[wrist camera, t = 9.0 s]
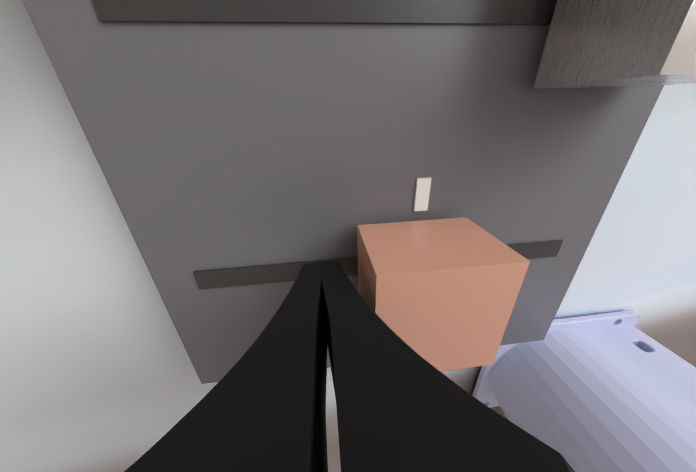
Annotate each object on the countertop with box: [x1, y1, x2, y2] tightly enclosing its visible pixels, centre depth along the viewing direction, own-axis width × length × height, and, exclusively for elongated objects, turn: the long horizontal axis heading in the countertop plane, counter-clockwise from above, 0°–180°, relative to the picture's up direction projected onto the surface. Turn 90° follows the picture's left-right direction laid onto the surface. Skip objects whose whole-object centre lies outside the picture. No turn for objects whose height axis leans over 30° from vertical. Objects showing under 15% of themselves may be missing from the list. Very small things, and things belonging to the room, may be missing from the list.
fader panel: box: [23, 0, 664, 384], centre depth 9 cm, size 18×20×2 cm
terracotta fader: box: [357, 217, 530, 372], centre depth 8 cm, size 4×4×3 cm
